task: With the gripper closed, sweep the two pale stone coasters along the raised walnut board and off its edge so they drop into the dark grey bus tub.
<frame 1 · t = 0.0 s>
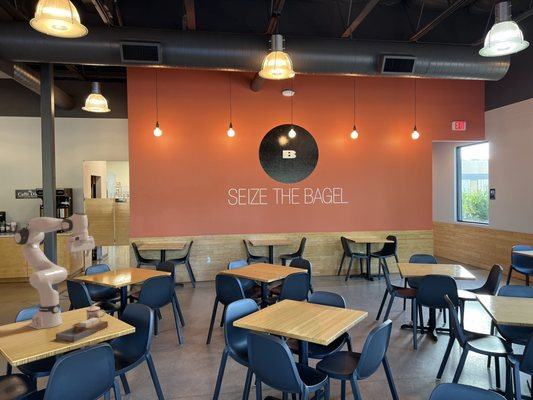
hand: (81, 257, 247), 48 cm above the table, fingers open, 8 cm apart
bus tub: (73, 337, 233), on the table
rear coaster: (93, 322, 248), point 4 cm above the table, touching walnut board
front coaster: (86, 325, 243), point 4 cm above the table, touching walnut board
teacup with lid: (95, 321, 264), on the table
walnut board: (91, 329, 246), on the table
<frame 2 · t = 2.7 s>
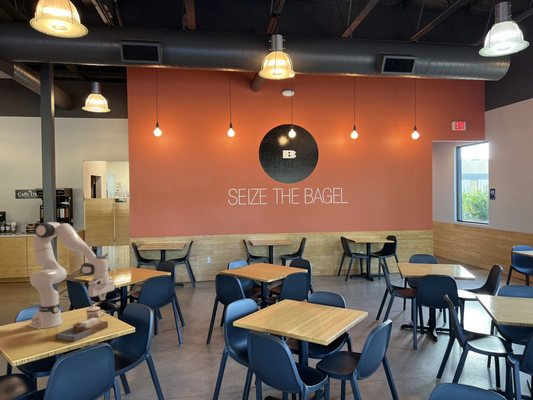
hand: (102, 300, 255), 17 cm above the table, fingers closed
nothing on the table moved.
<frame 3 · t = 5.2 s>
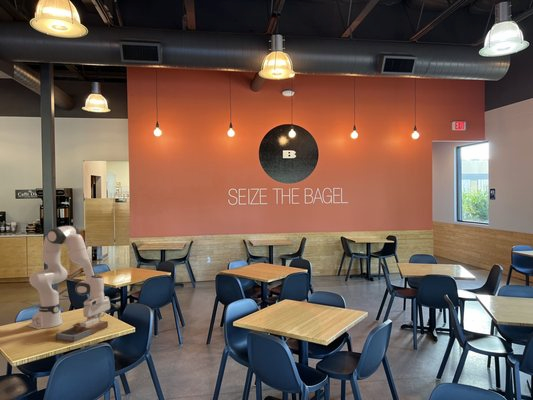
hand: (97, 319, 251), 5 cm above the table, fingers closed
rear coaster: (93, 323, 248), point 4 cm above the table, touching gripper
everything else where it was.
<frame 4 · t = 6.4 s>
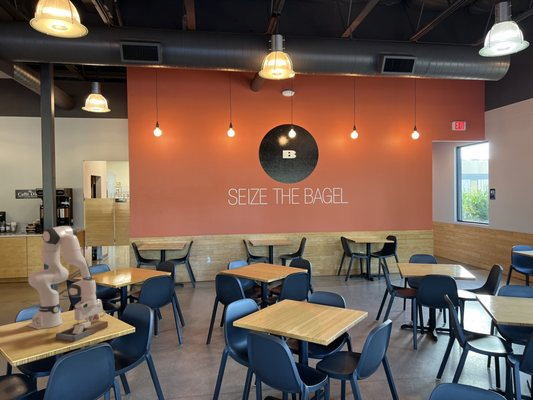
hand: (89, 323, 245), 5 cm above the table, fingers closed
rear coaster: (84, 326, 241), point 4 cm above the table, touching gripper
front coaster: (79, 330, 238), point 3 cm above the table, tilted 62°, touching bus tub
everything else where it was.
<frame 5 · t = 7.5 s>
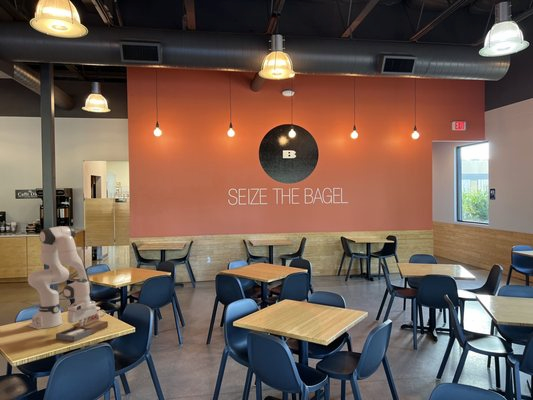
hand: (83, 325, 240), 5 cm above the table, fingers closed
rear coaster: (79, 334, 237), point 1 cm above the table, touching bus tub
front coaster: (71, 333, 232), point 3 cm above the table, tilted 180°, touching bus tub
everything else where it was.
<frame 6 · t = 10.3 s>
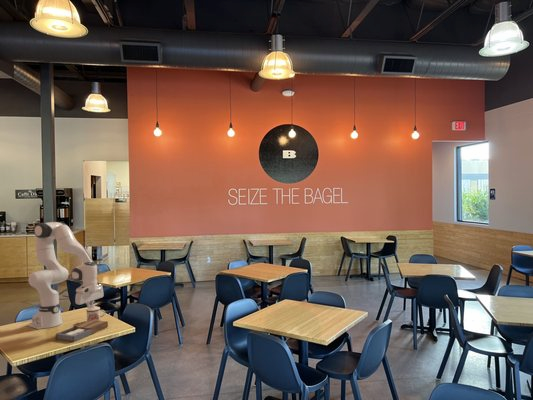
hand: (90, 307, 246), 15 cm above the table, fingers closed
nothing on the table moved.
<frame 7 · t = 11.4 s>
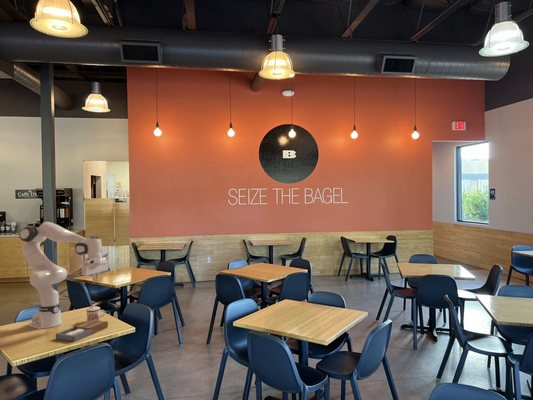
hand: (95, 279, 258), 31 cm above the table, fingers closed
nothing on the table moved.
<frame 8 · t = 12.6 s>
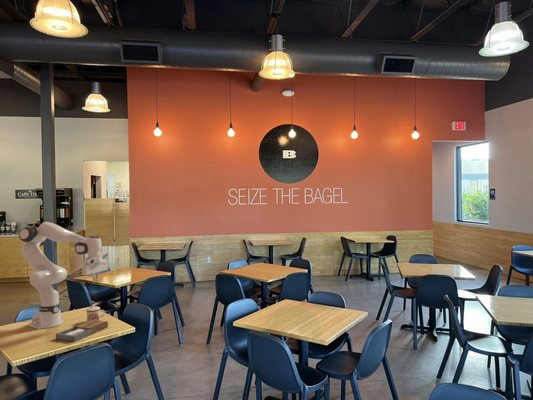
hand: (95, 279, 258), 31 cm above the table, fingers closed
nothing on the table moved.
at the end: rear coaster inside the target area on the bus tub (3.6 cm from its centre), point 0.6 cm above the bus tub's base; front coaster inside the target area on the bus tub (1.6 cm from its centre), point 3.1 cm above the bus tub's base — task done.
